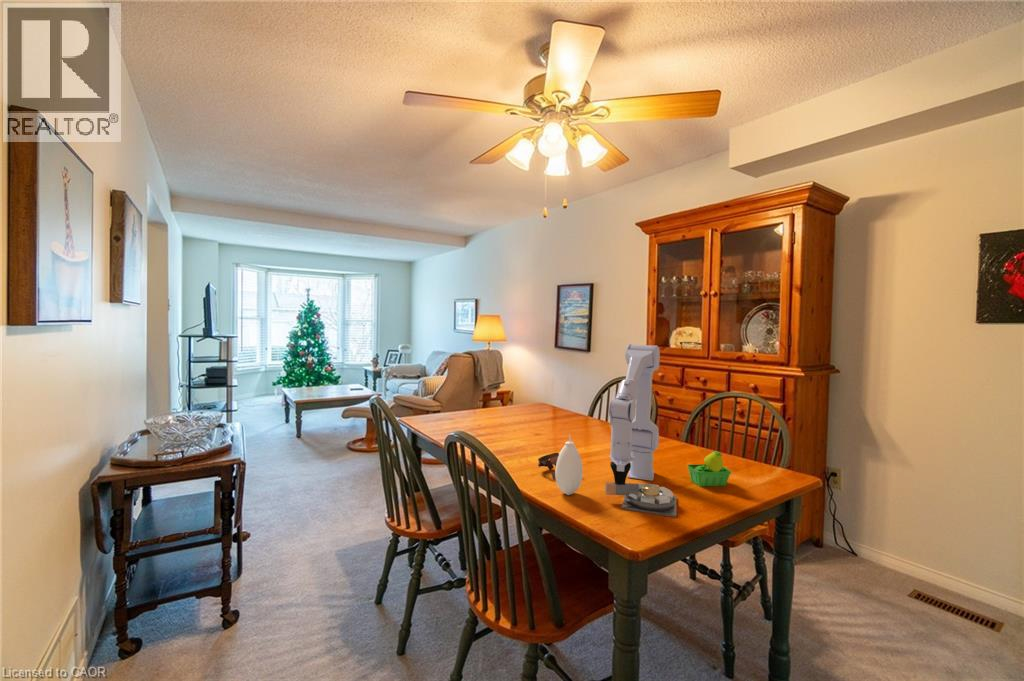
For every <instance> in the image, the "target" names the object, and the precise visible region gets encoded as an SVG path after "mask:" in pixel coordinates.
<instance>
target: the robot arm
mask: <svg viewBox="0 0 1024 681" xmlns="http://www.w3.org/2000/svg"><path fill="white" fill-rule="evenodd" d="M624 352H625V354H624V356H625V357H624V358H625V362H626V364H627V365H628V366H627V371H626V376H625V378H624V379H623V380H621V381H620V382H619V383H620V384H619V387H618V389H617V392H616V395H615V398H614V400H611V401H610V403H609V407H608V416H609V424H610V425H611V430H610V431H611V432H610V434H611V435H610V437H611V438H610V455H609V459H610V460H611V462H610V465H609V466H610V468H611V471H612V474H613V478H614V482H615V483H626V480H627V478H629V479H635V480H636V479H637V480H644V481H645V480H646V481H654V478H655V470H653V469H654V451H656V450H657V449H658V448H659V443H660V435H659V434H660V433H659V427H658V425H656V423H655V422H653V421H652V420H651V412H652V411H651V409H652V390H653V388H652V387H653V376H654V372H655V371H658V370H659V367H660V360H661V358H660V357H661V355H660V354H661V352H660V347H659V346H658V345H657V344H656V345H648V344H646V345H645V344H643V345H642V344H633V343H632V344H631V343H628V344H627V346H626V348H625V351H624Z"/></svg>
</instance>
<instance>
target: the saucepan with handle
mask: <svg viewBox="0 0 1024 681" xmlns="http://www.w3.org/2000/svg"><path fill="white" fill-rule="evenodd" d="M645 484H648V483H643V482H642V483H627V482H625V483H615V481H606V482H605V492H604V493H605V495H608V496H625V495H628V496H630V497H632V498H633V499H635V500H641V502H644V503H650V504H655V502H656V503H658V504H665V503H670V501H672V500H673V496H674V492H672V490H671V489H669V488H666V487H665V486H660V484H659V485H658V484H653V483H649V484H650V485H655V486H658V487H659V494H660V495H657V496H651V495H645V494H643V493H641V491H642V485H645Z"/></svg>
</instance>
